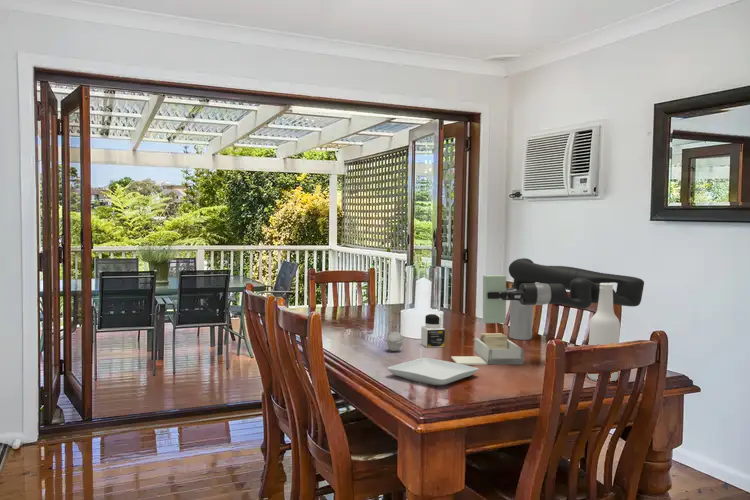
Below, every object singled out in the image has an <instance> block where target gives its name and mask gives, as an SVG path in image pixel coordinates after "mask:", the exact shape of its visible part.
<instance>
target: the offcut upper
mask: <svg viewBox="0 0 750 500" xmlns="http://www.w3.org/2000/svg"><path fill="white" fill-rule="evenodd" d="M479 338H480V339H479V340H481V341H483V342H484V343H507V339H508V336H507V335H506V334H504V333H502V332H497V333H496V332H494V333H493V332H492V333H490V332H489V333H488V332H485V333H482V332H481V333H480V337H479Z"/></svg>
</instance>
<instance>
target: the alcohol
mask: <svg viewBox="0 0 750 500" xmlns="http://www.w3.org/2000/svg"><path fill="white" fill-rule="evenodd" d="M599 289H600V292H599V300H598V303H597V310H596V312H595V313H594V314H593V315H592V317H591V318H590V320H589V332H588V333H589V335H588V346H589V345H597V344H610V343H619V344H620V335H621V333H620V332H621V324H620V320H619V318H618V317H617V315H616V314H615V310H614V304H613V289H614V284H613V283H600V287H599ZM598 375H599V374H588V373H587V376H588V378H589V380H591V381H594V382H598V381H597V379H598ZM618 379H619V371H618V372H614V373H612V374H611V378H610V381H615V382H616V381H617V380H618Z"/></svg>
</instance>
